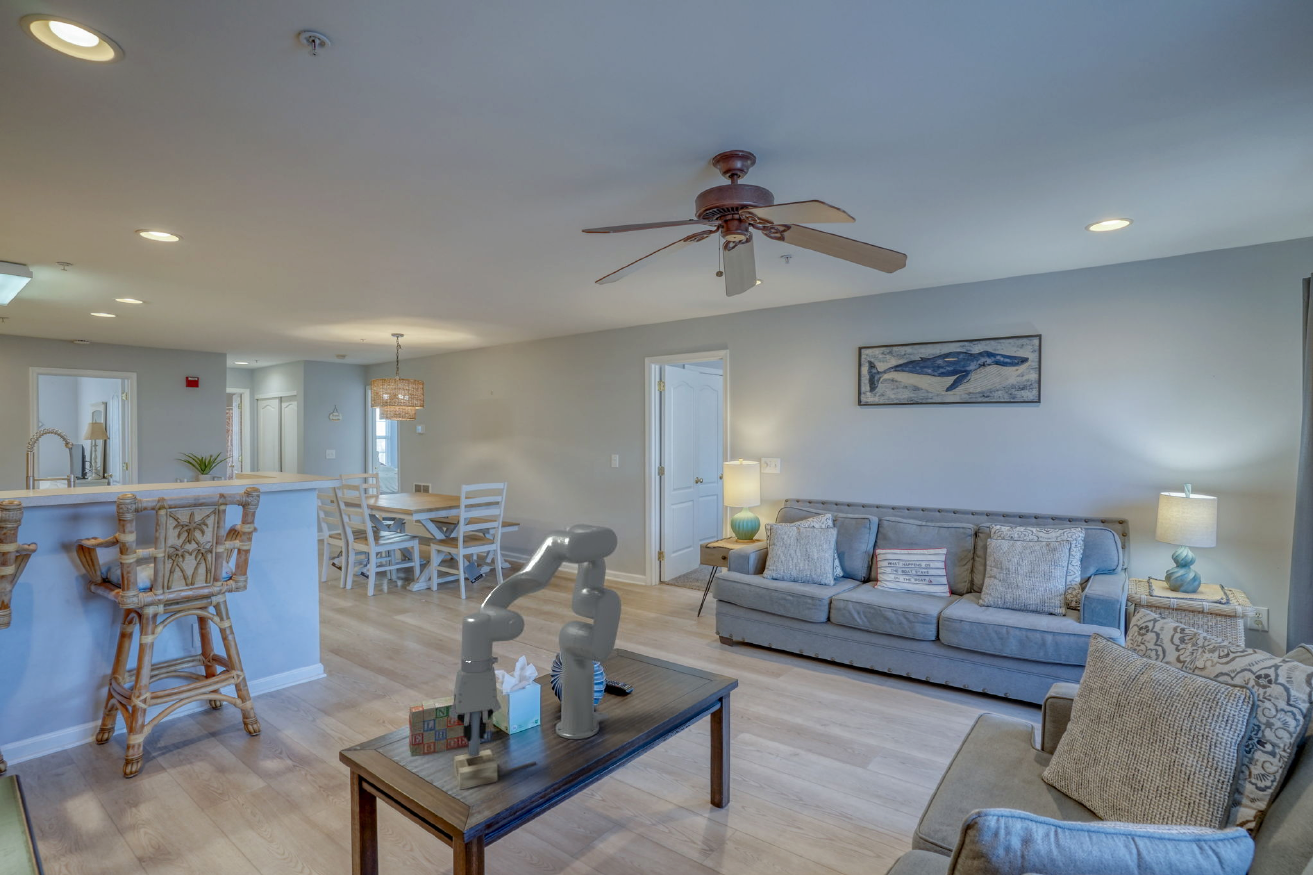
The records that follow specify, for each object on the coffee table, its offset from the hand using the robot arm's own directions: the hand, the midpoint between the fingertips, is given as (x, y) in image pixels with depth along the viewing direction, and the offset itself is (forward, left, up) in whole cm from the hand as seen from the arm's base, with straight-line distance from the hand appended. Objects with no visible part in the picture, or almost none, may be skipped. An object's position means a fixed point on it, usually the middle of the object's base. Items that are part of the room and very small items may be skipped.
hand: (474, 737), depth 160 cm
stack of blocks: (+2, -21, -10) cm, 23 cm away
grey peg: (0, 0, -4) cm, 4 cm away
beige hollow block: (0, 0, -10) cm, 10 cm away
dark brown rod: (-11, +1, -10) cm, 15 cm away
